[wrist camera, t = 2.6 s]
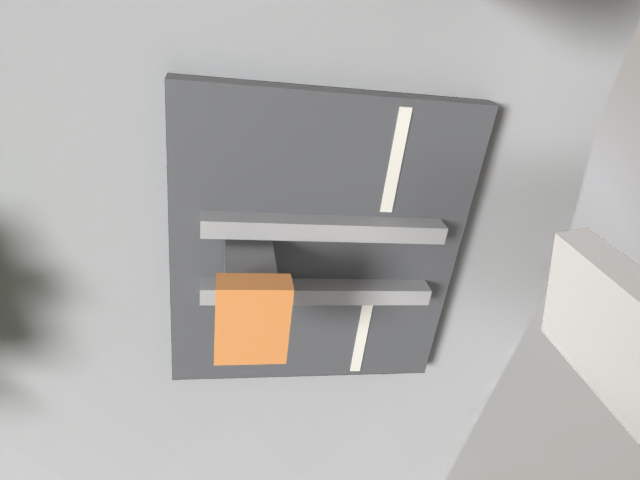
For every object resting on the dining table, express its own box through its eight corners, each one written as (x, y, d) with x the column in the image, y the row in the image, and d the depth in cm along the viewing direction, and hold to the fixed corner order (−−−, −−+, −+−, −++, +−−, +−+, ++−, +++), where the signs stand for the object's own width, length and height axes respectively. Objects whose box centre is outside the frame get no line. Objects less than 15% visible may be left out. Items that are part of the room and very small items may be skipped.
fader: (215, 287, 35) (213, 365, 28) (217, 221, 32) (215, 289, 26) (274, 288, 36) (286, 363, 29) (280, 223, 33) (294, 290, 27)
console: (174, 365, 40) (170, 394, 37) (167, 72, 29) (161, 84, 27) (418, 360, 44) (430, 386, 41) (488, 100, 33) (510, 112, 31)
